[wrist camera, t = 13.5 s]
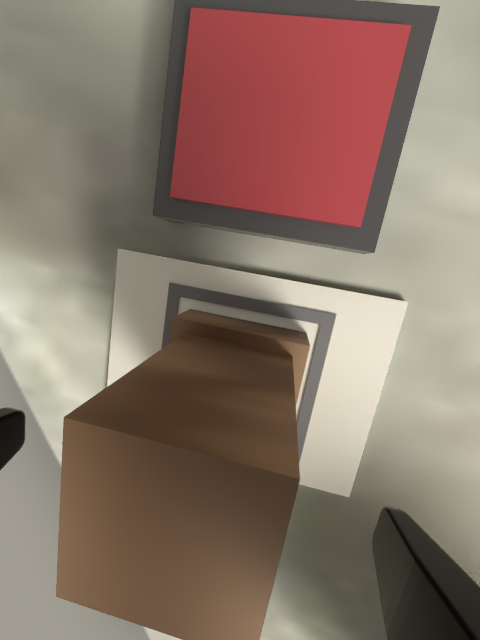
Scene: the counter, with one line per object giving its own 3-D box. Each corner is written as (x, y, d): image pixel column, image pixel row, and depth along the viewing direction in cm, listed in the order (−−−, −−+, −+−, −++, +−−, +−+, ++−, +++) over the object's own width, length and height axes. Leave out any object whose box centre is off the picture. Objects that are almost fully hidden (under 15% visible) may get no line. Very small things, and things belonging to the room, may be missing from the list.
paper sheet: (405, 301, 12) (409, 302, 11) (348, 492, 14) (349, 499, 13) (121, 248, 13) (116, 248, 13) (106, 429, 15) (102, 433, 15)
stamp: (306, 332, 12) (340, 458, 4) (282, 438, 13) (274, 691, 5) (190, 308, 13) (38, 383, 5) (175, 412, 14) (33, 607, 6)
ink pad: (417, 43, 10) (445, -3, 8) (363, 253, 11) (376, 252, 10) (190, 24, 11) (172, -22, 9) (168, 220, 12) (149, 214, 11)
